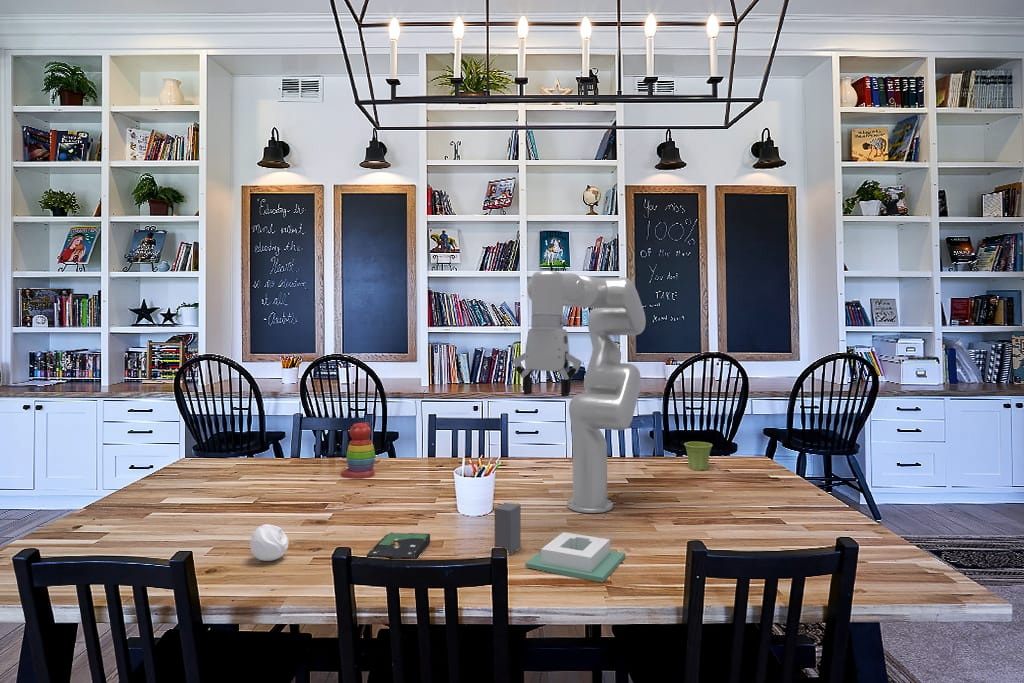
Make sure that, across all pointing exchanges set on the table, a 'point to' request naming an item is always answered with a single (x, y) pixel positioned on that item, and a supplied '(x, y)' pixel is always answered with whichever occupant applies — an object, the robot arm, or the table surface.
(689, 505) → the table surface
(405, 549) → the disk drive
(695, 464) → the plant pot
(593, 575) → the board
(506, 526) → the plug
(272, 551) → the crumpled white paper ball
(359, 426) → the stacking bear
